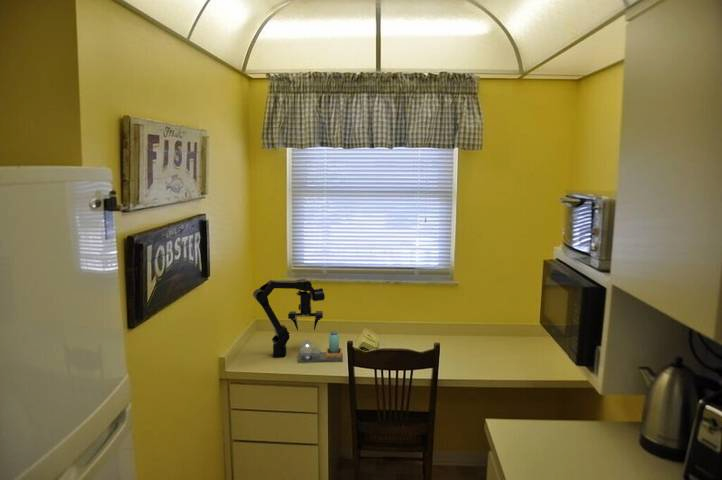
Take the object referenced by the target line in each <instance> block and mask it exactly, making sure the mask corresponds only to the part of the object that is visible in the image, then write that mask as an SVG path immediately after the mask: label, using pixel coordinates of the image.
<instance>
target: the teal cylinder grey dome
mask: <svg viewBox="0 0 722 480" xmlns="http://www.w3.org/2000/svg"><path fill="white" fill-rule="evenodd" d="M328 348H329V353H339V348H340V334H339V333H338V331H330V333H329V334H328Z"/></svg>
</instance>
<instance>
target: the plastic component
mask: <svg viewBox="0 0 722 480" xmlns="http://www.w3.org/2000/svg"><path fill="white" fill-rule="evenodd" d="M378 345H379V335H377V333H376V332H374V331H373V330H371V329H368V328H364V329H363V330H362V332H361V334H360V335H359V337H358V339H357V342H356V345H355V349H356V348H359V350H360V349H361V348H365V349H367V350H369V351H371V350H372V349H377V348H378Z"/></svg>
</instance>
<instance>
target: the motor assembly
mask: <svg viewBox="0 0 722 480" xmlns="http://www.w3.org/2000/svg"><path fill="white" fill-rule="evenodd" d="M314 346H315V345H314V343H313V342H312V341H311V340H309V339H307V340H306V339H305V340H303V341H302V342H301V344H300V347H299V352H298V353H299V354H298V355H299V356H298V359H297V362H298V363H343V361H344V360H343V347H339V353H329V347H326V348H325V351H321V348H320V349H318V348H317V349H316V348H314Z"/></svg>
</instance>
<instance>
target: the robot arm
mask: <svg viewBox="0 0 722 480" xmlns="http://www.w3.org/2000/svg"><path fill="white" fill-rule="evenodd" d="M312 285H313V284H312V282H311V281H310V280H308V279H306V278H301V279H296V280H273V279H270V280H268V281H267V282H266V283H264V284H262V285H261V286H260V287H259V288H257V289H255V290H254V291H253V293H252V296H253V299H254V300H256V302H257V303H258V304H259V305H260V306H261V307H262V309H263V311H264V313H265V315H266V317H267V318H268V320H269V321H270V323H271V325H272V327H273V330H274V331H273V332H274V336H273V337H272V338H271V341H272V343H273V344H272V346H273V347H272V351H273V352H272V354H273V355H272V358H285V357H286V355H287V353H288V352H287V351H288V350H287V343H288V341H290V337H291V336H290V334H291V333H290V332H289V331H288V328H287V327H286V325H284V324H281V323H280V320H279V319H278V317H277V316H276V314H275V312H274V310H273V308H272V307H271V305H270V303H269V302H270V301H269V298H268V296H270V295H271V294H272V292H273V290H275V289H286V290H287V289H291V290H292V289H295V290H298V291H297V292H296V293H295V294H296V296H299V300H300V301H299V304H298V311H300V312H297V311H296V310H295V311H294V310H292V311H290V310H289V312H288V315H287V319H289V320H290V321H292V322H293V324H294V326H295V329H296V330H297V331H299V324H298V318H299V317H302V318H303V317H315V318H314V325H313V330H314V331H315V330H316V328H317V327H316V326H317V324H318V322H319V321H320V320H321V319H323V318H324V311H323V310H315V312H312V302H321V301H325V297H326V296H325V292H324V288H322V287H319V288H314V287H312Z"/></svg>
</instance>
